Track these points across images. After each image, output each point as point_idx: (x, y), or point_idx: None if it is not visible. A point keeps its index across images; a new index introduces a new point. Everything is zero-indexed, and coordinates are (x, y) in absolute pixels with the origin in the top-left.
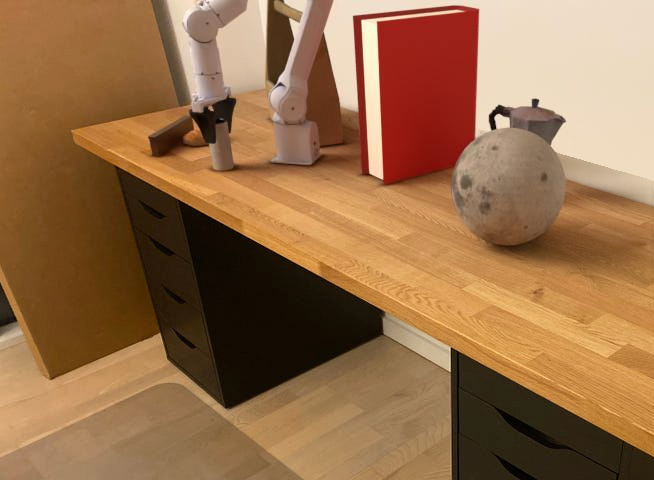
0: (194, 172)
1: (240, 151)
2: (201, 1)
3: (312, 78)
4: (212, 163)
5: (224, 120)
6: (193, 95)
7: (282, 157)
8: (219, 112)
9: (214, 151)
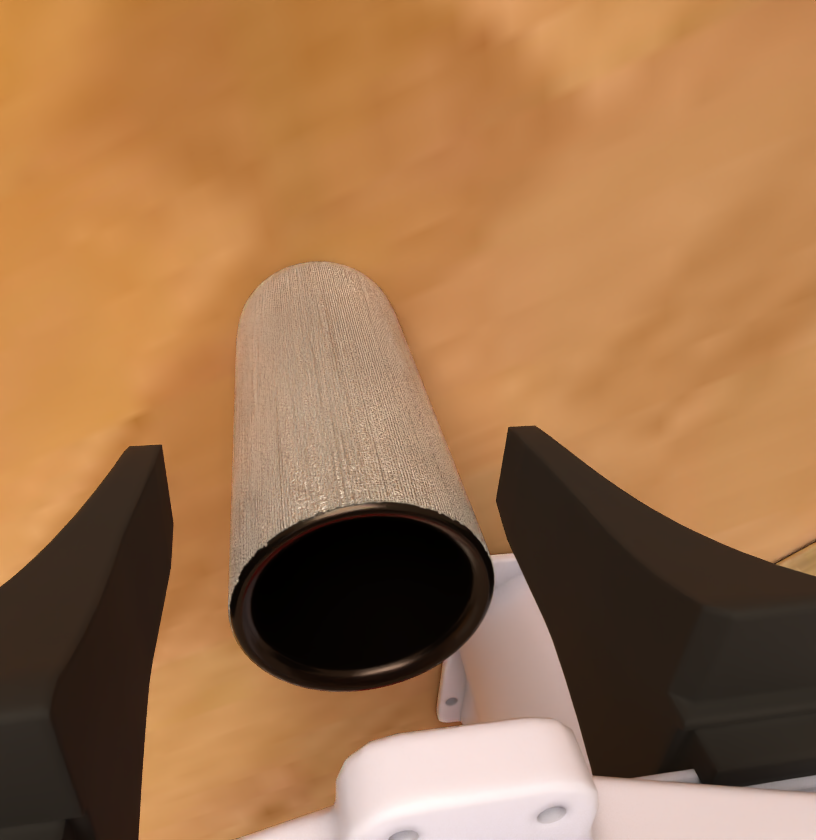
0: (140, 153)
1: (695, 294)
2: None
3: None
4: (265, 296)
5: (428, 647)
6: (345, 819)
7: None
8: (599, 589)
9: (234, 407)
